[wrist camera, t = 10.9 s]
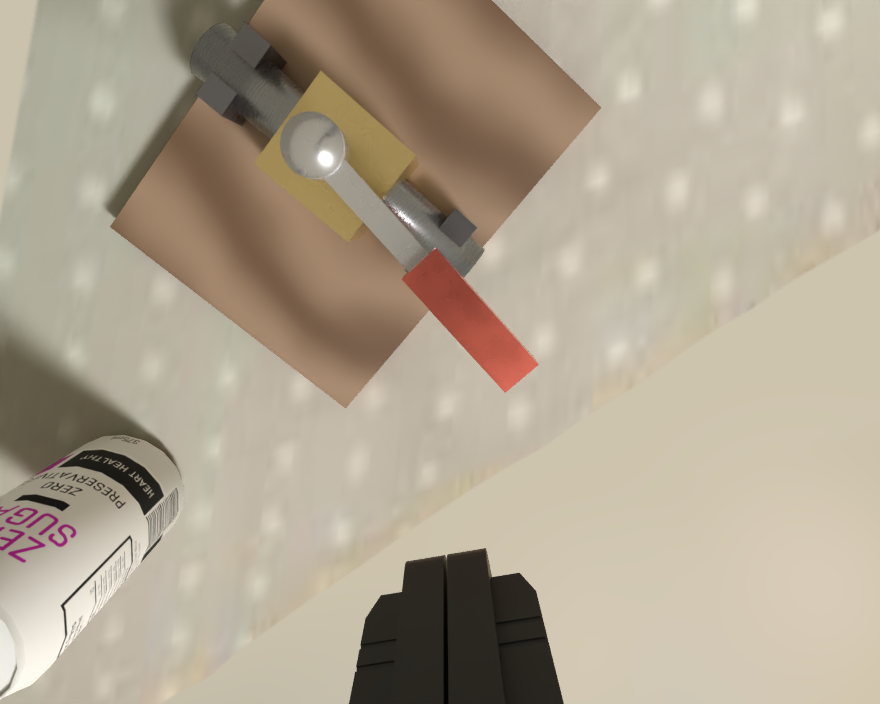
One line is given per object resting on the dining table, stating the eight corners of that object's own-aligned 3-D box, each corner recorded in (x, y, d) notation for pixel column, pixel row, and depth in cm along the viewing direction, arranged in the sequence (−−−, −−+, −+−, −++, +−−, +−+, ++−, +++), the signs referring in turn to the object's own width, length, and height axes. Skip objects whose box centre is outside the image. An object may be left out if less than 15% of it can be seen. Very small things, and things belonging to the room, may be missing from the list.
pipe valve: (258, 23, 30) (187, -55, 22) (493, 232, 33) (513, 235, 24) (203, 104, 31) (114, 60, 23) (435, 300, 34) (435, 326, 25)
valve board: (359, -116, 29) (355, -134, 27) (593, 112, 32) (601, 107, 30) (124, 226, 33) (110, 226, 32) (349, 400, 36) (345, 408, 35)
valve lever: (278, 148, 23) (266, 142, 22) (320, 105, 23) (311, 96, 21) (496, 386, 26) (500, 396, 24) (537, 351, 25) (543, 360, 24)
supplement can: (100, 545, 39) (-103, 740, 24) (55, 444, 37) (-196, 590, 22) (205, 522, 38) (62, 706, 24) (164, 419, 36) (-18, 550, 22)
